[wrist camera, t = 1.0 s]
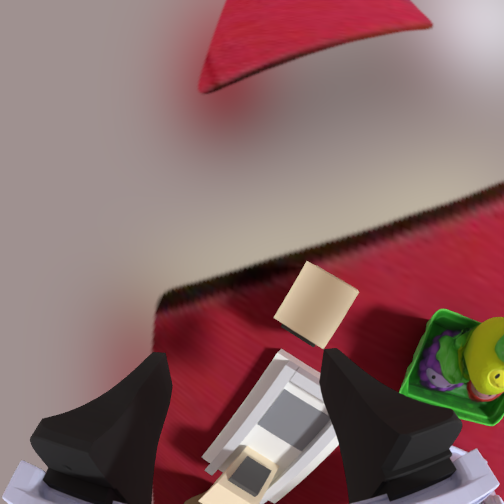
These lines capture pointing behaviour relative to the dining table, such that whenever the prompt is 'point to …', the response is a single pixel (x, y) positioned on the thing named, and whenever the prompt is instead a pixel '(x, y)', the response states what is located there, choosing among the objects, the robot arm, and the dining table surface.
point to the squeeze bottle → (195, 499)
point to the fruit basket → (460, 367)
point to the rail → (272, 437)
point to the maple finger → (315, 305)
